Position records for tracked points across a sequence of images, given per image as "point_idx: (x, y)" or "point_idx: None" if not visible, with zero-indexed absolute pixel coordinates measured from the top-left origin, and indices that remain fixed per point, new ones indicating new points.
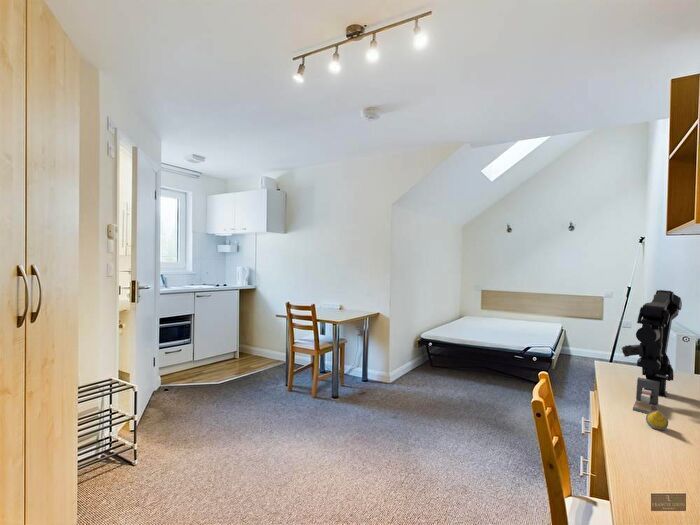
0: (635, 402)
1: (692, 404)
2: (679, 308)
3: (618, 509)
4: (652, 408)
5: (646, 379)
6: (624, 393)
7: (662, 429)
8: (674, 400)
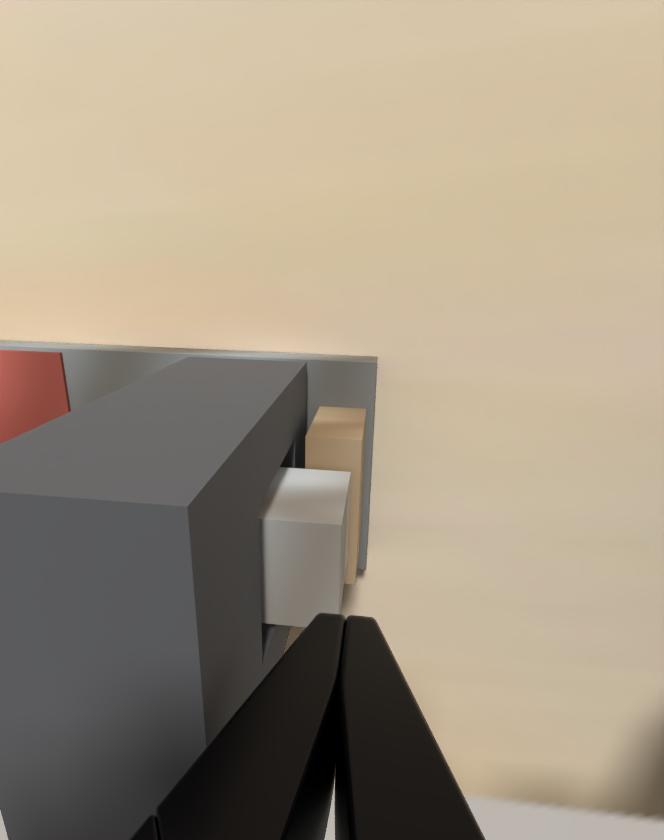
0: (99, 354)
1: (628, 805)
2: None
3: None
4: None
5: (136, 685)
6: (538, 180)
7: None
8: (659, 693)
